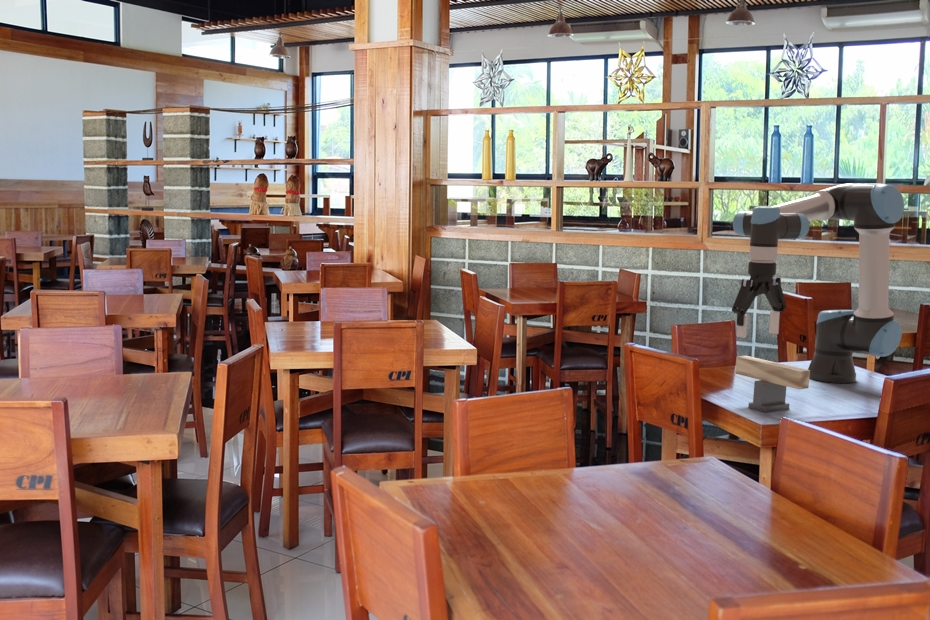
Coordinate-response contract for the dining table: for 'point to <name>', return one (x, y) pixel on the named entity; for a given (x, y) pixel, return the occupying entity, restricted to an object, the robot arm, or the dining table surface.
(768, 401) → the gray pedestal stand
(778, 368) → the ash bar
